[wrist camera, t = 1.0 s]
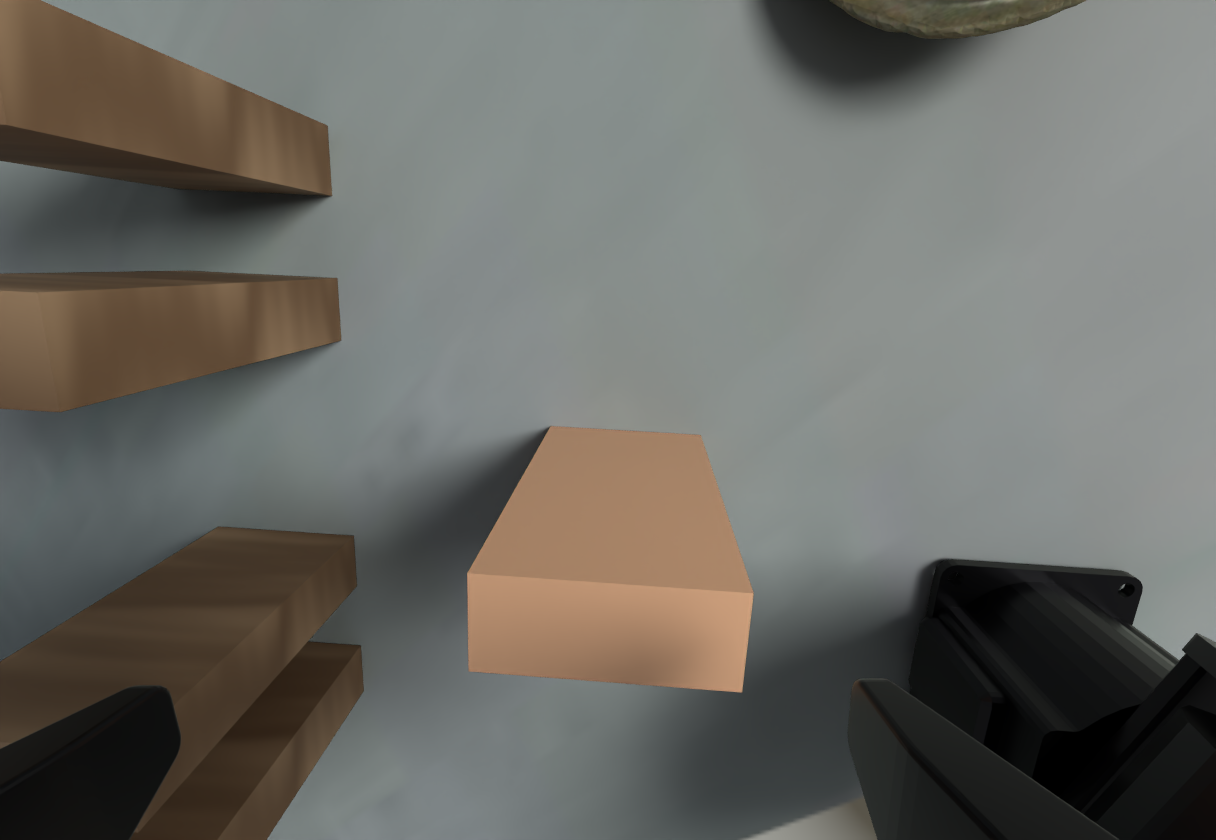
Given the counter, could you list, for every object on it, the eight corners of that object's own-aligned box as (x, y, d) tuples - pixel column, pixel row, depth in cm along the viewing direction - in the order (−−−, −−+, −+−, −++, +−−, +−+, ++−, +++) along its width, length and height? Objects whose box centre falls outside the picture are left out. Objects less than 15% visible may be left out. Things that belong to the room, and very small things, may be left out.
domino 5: (550, 426, 20) (467, 573, 11) (700, 435, 20) (753, 593, 10) (549, 482, 21) (468, 671, 11) (695, 491, 21) (741, 692, 11)
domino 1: (167, 119, 19) (-346, -36, 9) (327, 125, 18) (-22, -28, 9) (176, 188, 19) (-301, 112, 9) (332, 195, 19) (6, 124, 9)
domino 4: (231, 635, 23) (-64, 903, 13) (360, 645, 23) (154, 924, 13) (237, 681, 24) (-43, 969, 14) (363, 691, 23) (167, 991, 14)
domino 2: (186, 270, 20) (-252, 277, 10) (337, 278, 20) (38, 292, 10) (194, 332, 20) (-217, 395, 11) (341, 340, 20) (59, 412, 10)
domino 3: (218, 526, 22) (-115, 732, 12) (353, 535, 22) (123, 752, 12) (224, 576, 23) (-91, 811, 13) (356, 585, 22) (138, 832, 13)
